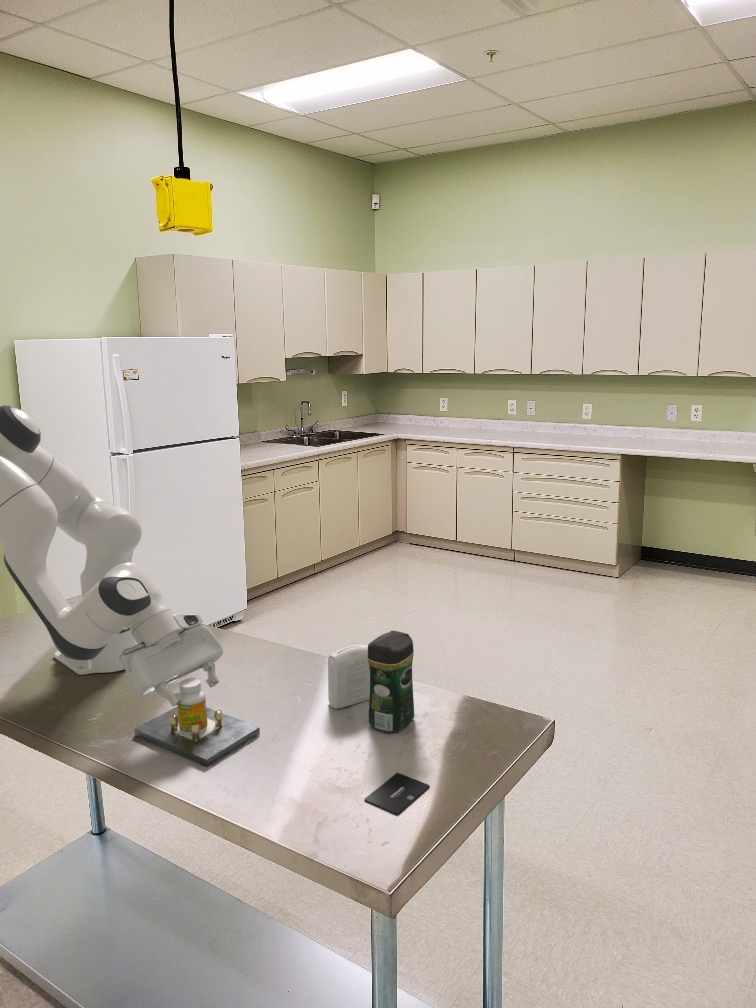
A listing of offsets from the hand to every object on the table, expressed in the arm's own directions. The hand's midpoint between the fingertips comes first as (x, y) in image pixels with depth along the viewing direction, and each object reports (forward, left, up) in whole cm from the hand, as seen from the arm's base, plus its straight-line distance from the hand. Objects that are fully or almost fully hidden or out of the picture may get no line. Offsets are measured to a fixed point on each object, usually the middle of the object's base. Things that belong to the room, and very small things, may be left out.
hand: (196, 694), depth 148 cm
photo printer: (+16, +28, -9) cm, 34 cm away
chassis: (-1, 0, -9) cm, 9 cm away
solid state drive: (+43, +5, -9) cm, 44 cm away
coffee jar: (+28, +25, -9) cm, 39 cm away
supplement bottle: (-1, -1, -7) cm, 7 cm away
